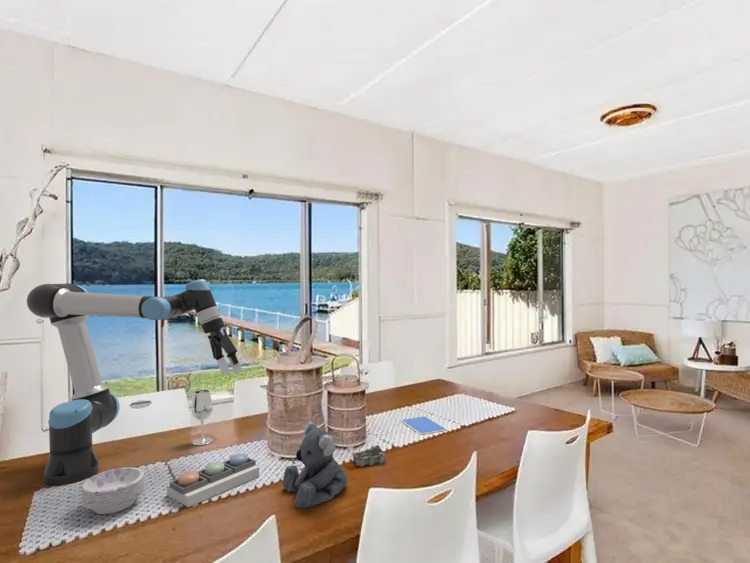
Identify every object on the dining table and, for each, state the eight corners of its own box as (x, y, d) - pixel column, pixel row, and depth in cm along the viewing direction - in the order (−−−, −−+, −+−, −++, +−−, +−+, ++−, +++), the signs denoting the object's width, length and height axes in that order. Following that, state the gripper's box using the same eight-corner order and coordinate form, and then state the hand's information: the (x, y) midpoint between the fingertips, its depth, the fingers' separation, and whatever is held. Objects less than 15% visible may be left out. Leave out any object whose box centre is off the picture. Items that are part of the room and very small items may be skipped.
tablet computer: (447, 432, 180) (447, 428, 180) (420, 436, 175) (420, 433, 175) (425, 418, 198) (425, 415, 198) (400, 422, 193) (400, 419, 193)
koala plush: (280, 487, 133) (278, 423, 133) (334, 473, 142) (333, 413, 142) (299, 513, 118) (297, 440, 118) (358, 496, 126) (357, 428, 126)
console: (187, 507, 122) (186, 491, 122) (166, 495, 129) (165, 480, 129) (259, 475, 141) (259, 462, 141) (238, 466, 148) (237, 453, 148)
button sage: (211, 477, 131) (211, 471, 131) (201, 472, 134) (201, 466, 134) (228, 470, 135) (227, 464, 135) (217, 466, 139) (217, 460, 139)
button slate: (236, 467, 138) (236, 461, 138) (226, 463, 141) (225, 457, 141) (251, 461, 142) (251, 456, 142) (240, 457, 146) (240, 452, 146)
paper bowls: (99, 526, 113) (99, 495, 113) (71, 511, 121) (71, 482, 121) (155, 500, 126) (155, 473, 126) (127, 488, 134) (126, 462, 134)
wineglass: (208, 445, 169) (207, 393, 169) (188, 445, 169) (187, 394, 169) (216, 438, 176) (215, 388, 176) (197, 438, 177) (196, 389, 177)
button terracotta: (184, 488, 124) (184, 481, 124) (174, 482, 128) (174, 476, 128) (202, 480, 129) (202, 474, 129) (192, 476, 132) (192, 470, 132)
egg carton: (380, 455, 156) (380, 444, 156) (386, 464, 149) (386, 452, 149) (351, 459, 153) (351, 447, 153) (356, 468, 146) (356, 455, 146)
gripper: (231, 311, 153) (254, 367, 153) (211, 321, 172) (231, 371, 173) (210, 318, 148) (234, 376, 148) (192, 328, 168) (213, 379, 168)
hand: (232, 373), depth 161 cm, fingers open, 13 cm apart
